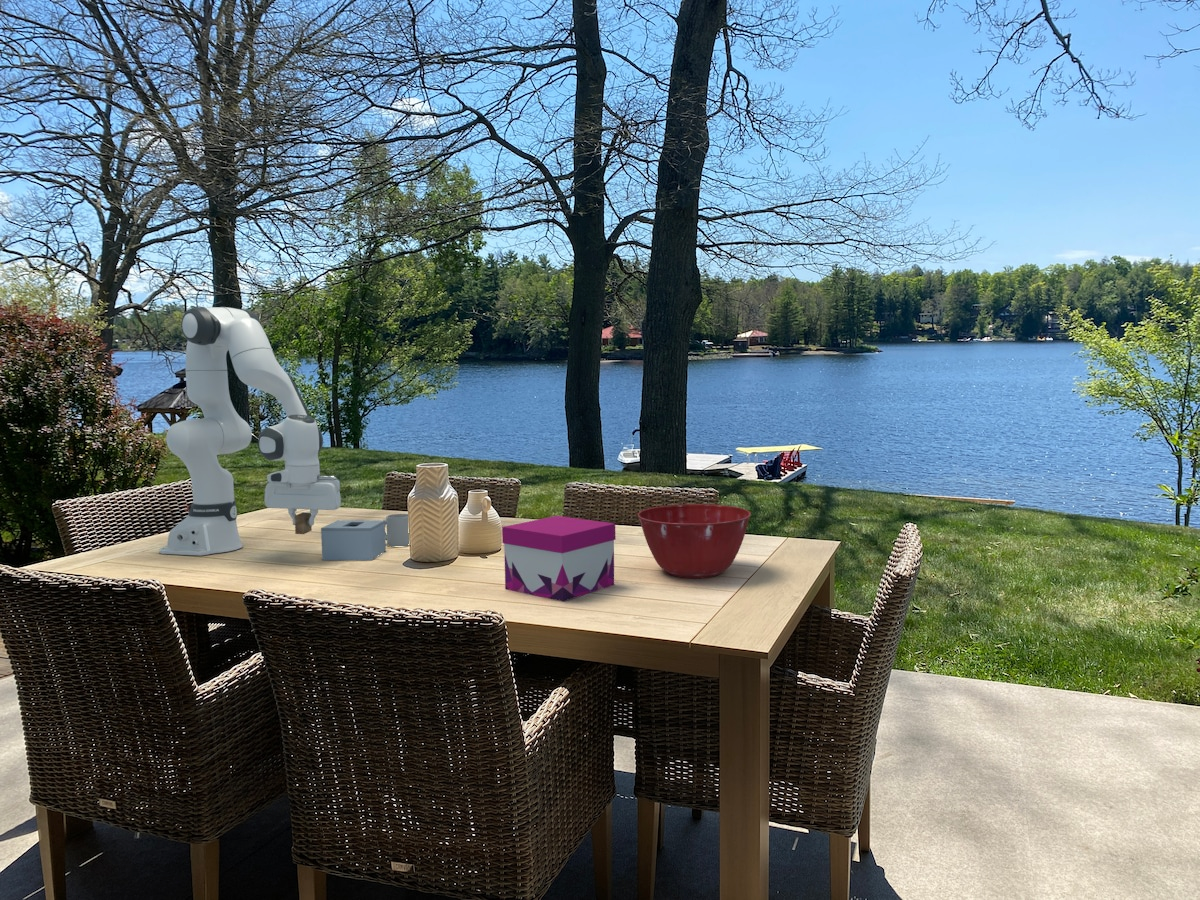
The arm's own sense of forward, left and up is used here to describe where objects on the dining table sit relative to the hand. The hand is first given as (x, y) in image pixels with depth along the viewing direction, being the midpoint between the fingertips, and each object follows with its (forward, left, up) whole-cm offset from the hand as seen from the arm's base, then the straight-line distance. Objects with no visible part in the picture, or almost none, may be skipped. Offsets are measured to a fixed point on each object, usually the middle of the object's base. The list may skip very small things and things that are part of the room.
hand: (303, 525), depth 229 cm
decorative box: (+73, -25, -11) cm, 78 cm away
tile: (0, 0, -2) cm, 2 cm away
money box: (+11, +9, -10) cm, 17 cm away
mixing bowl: (+106, -9, -11) cm, 107 cm away
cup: (+18, +24, -11) cm, 31 cm away
